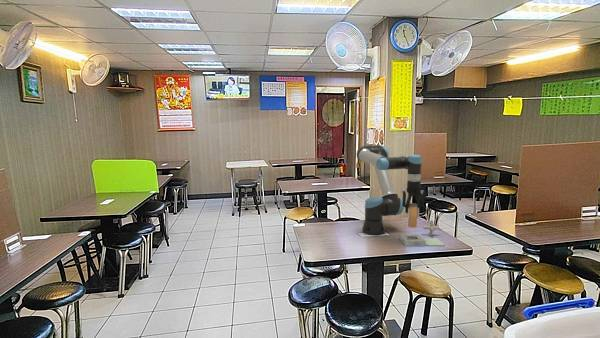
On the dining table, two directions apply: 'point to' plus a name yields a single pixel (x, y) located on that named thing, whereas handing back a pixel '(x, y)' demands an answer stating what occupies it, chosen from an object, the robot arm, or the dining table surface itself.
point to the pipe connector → (431, 227)
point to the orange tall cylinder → (412, 215)
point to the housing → (412, 240)
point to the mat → (433, 242)
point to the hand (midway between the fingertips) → (412, 217)
